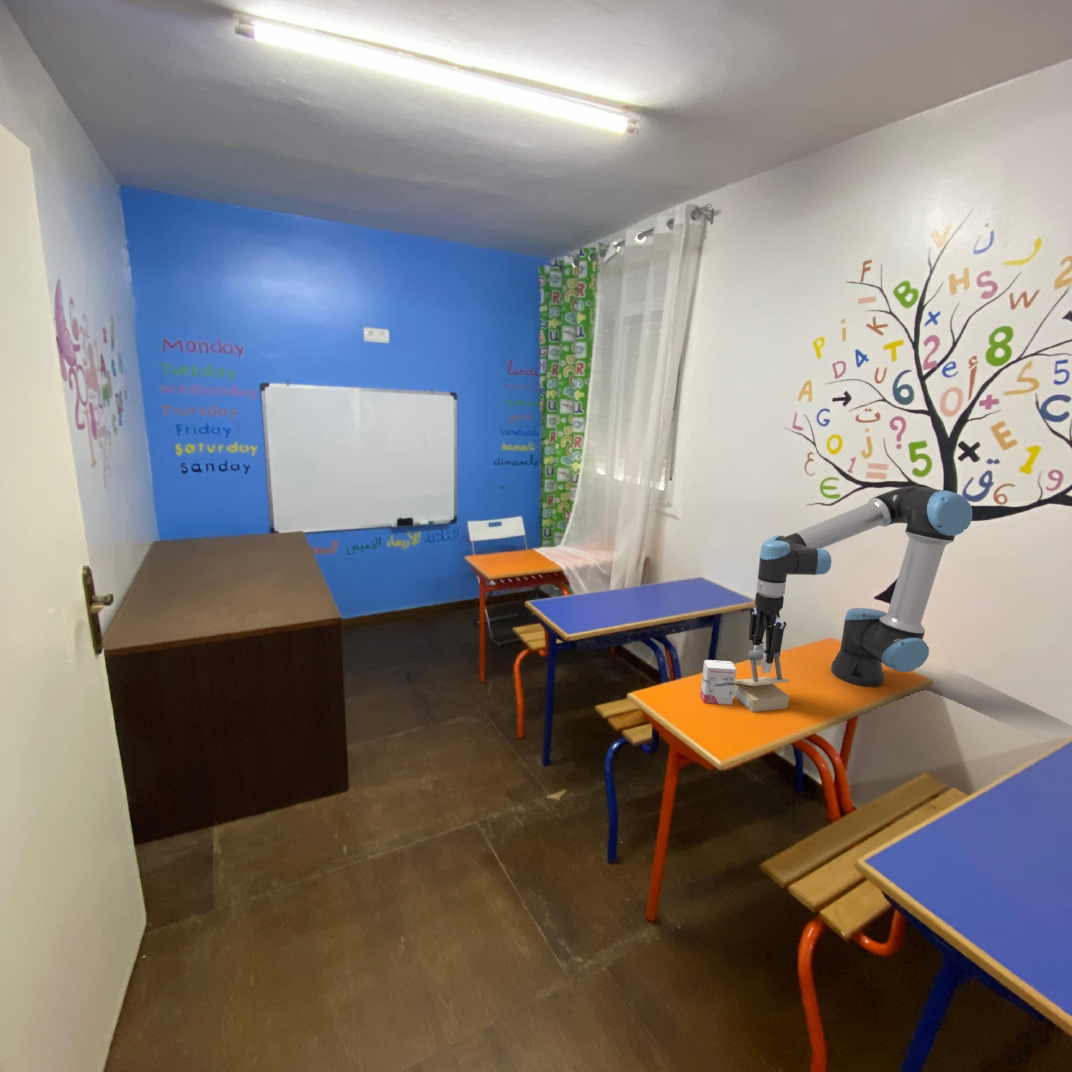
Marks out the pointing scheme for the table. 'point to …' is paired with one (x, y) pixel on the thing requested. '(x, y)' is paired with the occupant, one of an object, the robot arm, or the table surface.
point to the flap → (755, 680)
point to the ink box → (718, 682)
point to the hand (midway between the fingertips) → (761, 668)
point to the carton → (761, 697)
